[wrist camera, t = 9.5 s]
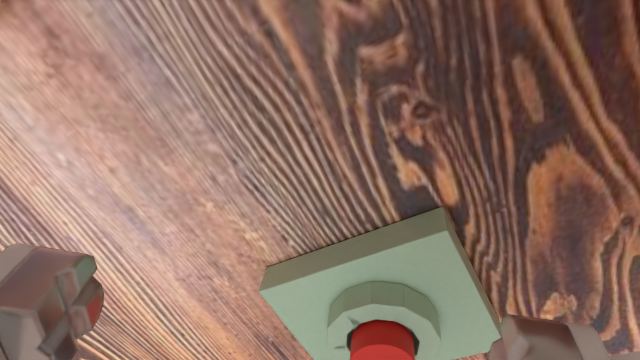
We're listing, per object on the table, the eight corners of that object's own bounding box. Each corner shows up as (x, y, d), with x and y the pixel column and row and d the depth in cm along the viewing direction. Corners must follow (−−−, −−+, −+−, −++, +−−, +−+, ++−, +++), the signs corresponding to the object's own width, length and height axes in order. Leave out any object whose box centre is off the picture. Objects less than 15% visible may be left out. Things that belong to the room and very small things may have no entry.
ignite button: (398, 312, 25) (399, 338, 24) (423, 351, 27) (425, 378, 25) (340, 327, 26) (338, 353, 25) (368, 364, 28) (367, 391, 26)
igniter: (442, 205, 25) (451, 253, 22) (499, 319, 30) (513, 374, 26) (265, 267, 30) (250, 315, 26) (337, 359, 34) (332, 411, 30)
